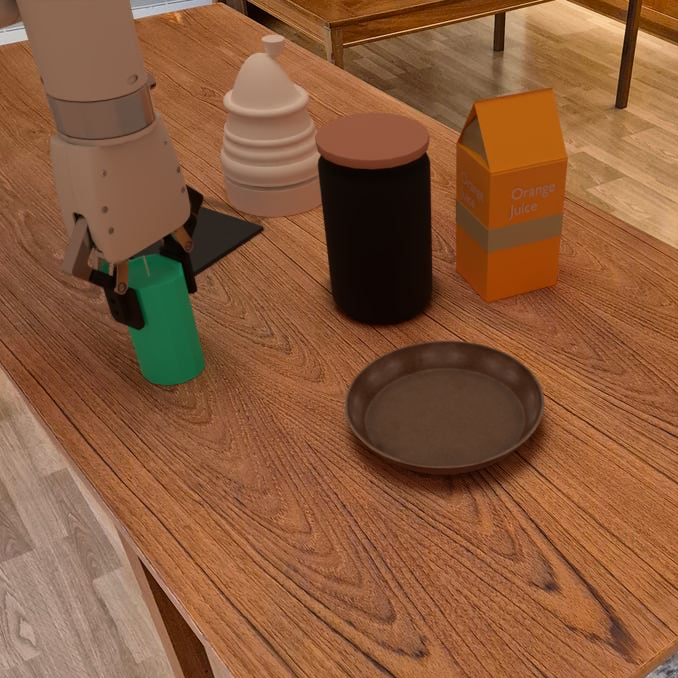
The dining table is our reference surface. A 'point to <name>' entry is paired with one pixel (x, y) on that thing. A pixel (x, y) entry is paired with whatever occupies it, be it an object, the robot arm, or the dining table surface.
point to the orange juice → (510, 194)
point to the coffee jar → (377, 215)
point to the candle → (164, 322)
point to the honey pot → (269, 140)
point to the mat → (212, 238)
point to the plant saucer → (444, 406)
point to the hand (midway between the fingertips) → (157, 304)
